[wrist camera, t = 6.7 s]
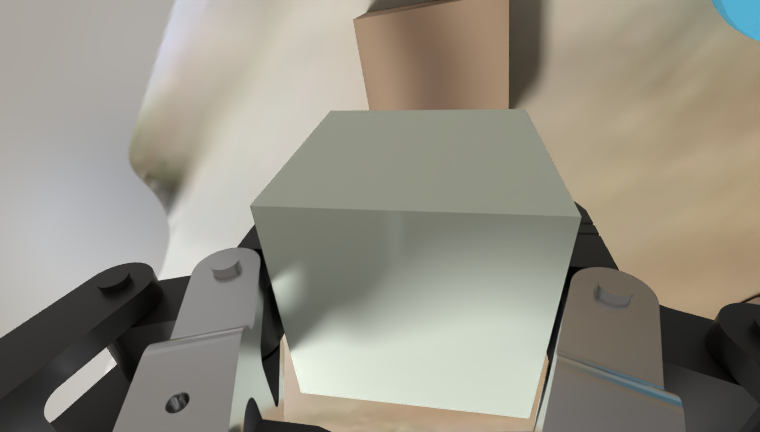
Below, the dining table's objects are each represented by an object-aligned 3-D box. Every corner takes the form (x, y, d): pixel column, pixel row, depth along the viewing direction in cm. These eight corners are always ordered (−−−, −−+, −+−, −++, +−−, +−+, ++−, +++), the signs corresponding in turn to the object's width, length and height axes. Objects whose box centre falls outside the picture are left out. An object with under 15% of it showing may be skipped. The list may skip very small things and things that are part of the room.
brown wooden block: (500, -12, 22) (509, -8, 19) (501, 122, 26) (508, 144, 23) (366, 12, 24) (353, 19, 21) (386, 134, 28) (378, 157, 25)
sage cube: (525, 109, 10) (582, 216, 5) (502, 265, 12) (529, 418, 8) (330, 110, 10) (249, 206, 6) (349, 257, 13) (301, 392, 9)
